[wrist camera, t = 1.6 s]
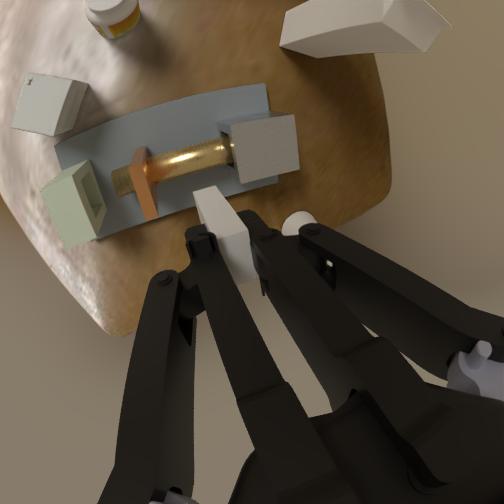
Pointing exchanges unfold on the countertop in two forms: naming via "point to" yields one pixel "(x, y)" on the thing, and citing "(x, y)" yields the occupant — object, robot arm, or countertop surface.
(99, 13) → the supplement bottle
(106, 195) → the board
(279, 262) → the robot arm
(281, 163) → the grey cube end cap
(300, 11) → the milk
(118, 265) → the countertop surface
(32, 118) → the product box
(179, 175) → the tube
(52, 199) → the socket
